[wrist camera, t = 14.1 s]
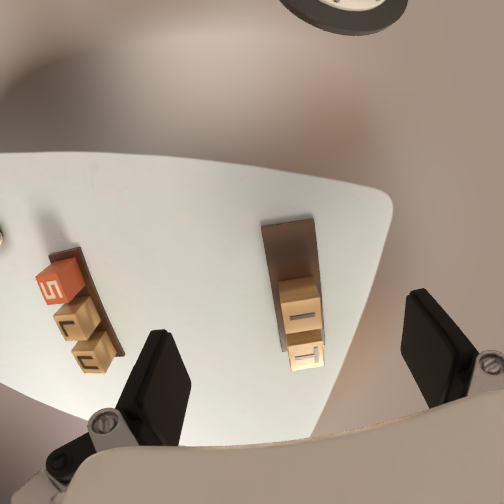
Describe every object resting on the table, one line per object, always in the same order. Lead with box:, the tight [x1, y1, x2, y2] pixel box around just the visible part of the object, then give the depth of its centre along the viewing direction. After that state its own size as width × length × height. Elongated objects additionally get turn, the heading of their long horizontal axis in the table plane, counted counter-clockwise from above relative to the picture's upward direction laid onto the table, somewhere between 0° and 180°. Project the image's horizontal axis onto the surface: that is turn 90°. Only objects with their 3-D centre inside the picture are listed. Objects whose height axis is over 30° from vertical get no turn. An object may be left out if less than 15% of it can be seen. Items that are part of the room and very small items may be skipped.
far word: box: [48, 247, 125, 373], centre depth 37 cm, size 18×6×6 cm, turn 10°
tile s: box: [35, 257, 86, 305], centre depth 35 cm, size 4×4×5 cm
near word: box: [261, 219, 325, 371], centre depth 35 cm, size 18×6×6 cm, turn 10°
